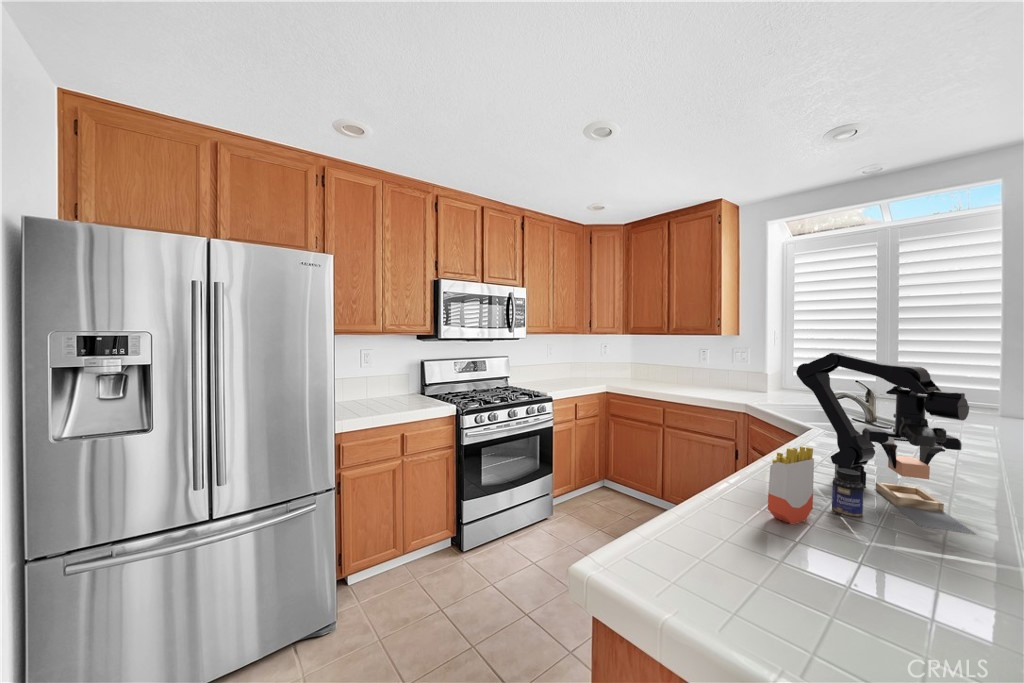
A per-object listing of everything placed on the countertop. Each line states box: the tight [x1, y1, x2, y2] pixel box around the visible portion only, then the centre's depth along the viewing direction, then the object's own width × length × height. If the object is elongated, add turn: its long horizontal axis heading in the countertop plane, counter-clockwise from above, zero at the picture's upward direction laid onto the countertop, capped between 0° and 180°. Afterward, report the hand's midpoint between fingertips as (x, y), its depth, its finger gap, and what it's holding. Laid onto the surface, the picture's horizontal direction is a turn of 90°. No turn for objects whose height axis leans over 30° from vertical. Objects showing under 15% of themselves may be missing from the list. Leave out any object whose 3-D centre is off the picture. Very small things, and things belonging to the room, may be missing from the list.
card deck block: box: [887, 455, 931, 480], centre depth 110 cm, size 8×6×4 cm
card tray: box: [875, 481, 945, 512], centre depth 110 cm, size 10×12×2 cm
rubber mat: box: [874, 488, 978, 536], centre depth 105 cm, size 10×25×1 cm, turn 157°
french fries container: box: [767, 446, 815, 525], centre depth 99 cm, size 5×11×18 cm, turn 114°
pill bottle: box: [831, 468, 865, 519], centre depth 102 cm, size 6×6×11 cm
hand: (907, 469), depth 110 cm, fingers closed on card deck block, 5 cm apart
